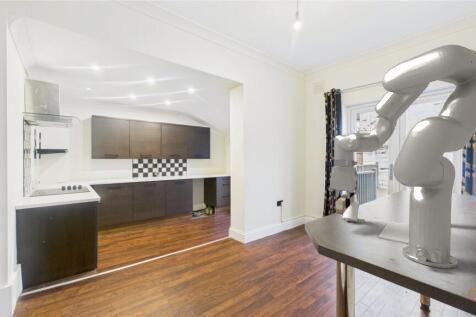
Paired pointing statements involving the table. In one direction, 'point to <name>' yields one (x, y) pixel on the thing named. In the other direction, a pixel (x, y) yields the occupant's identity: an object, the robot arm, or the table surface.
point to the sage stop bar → (357, 220)
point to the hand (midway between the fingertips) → (343, 206)
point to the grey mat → (396, 232)
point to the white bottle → (352, 211)
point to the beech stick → (342, 203)
